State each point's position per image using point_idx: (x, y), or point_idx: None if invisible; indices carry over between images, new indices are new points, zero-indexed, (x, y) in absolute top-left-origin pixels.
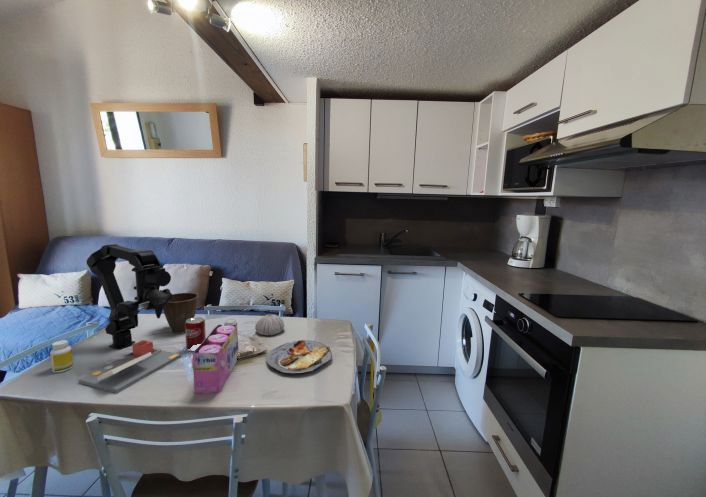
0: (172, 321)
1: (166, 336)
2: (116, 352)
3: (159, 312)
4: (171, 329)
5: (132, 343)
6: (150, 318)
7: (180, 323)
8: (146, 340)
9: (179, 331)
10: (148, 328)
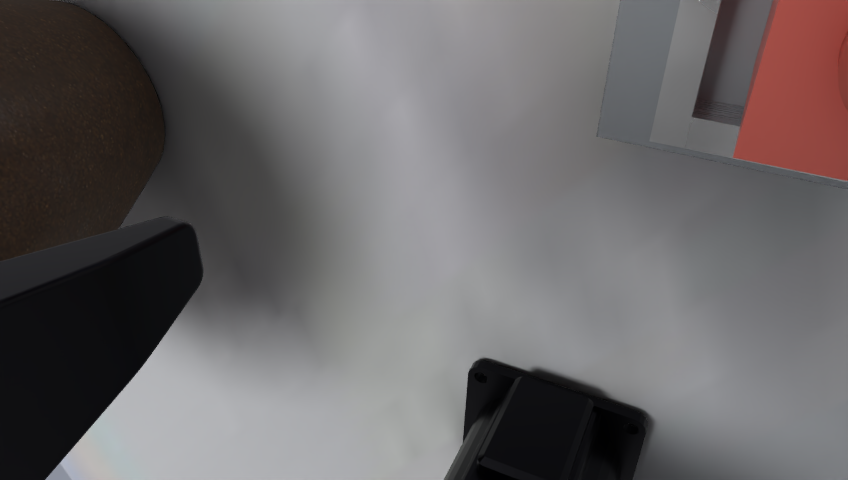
0: (59, 178)
1: (252, 152)
2: (720, 415)
3: (32, 306)
4: (147, 174)
5: (509, 373)
6: (118, 467)
7: (24, 69)
8: (760, 79)
9: (125, 65)
10: (222, 403)
